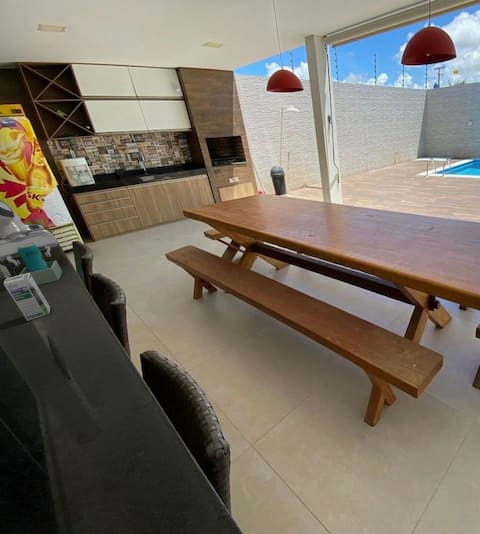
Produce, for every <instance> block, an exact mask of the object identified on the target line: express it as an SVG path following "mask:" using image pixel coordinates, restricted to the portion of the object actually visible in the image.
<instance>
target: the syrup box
mask: <svg viewBox="0 0 480 534" xmlns="http://www.w3.org/2000/svg"><path fill="white" fill-rule="evenodd" d="M3 286H4V288H5V289H6V290H7V292H8V294H9V295H10V297H11V298H12V300H13V301H14V303H15V304H16V305H17V307H18V309H19V310H20V312H21V313H22V315H23V317H24V319H25V320H26V321H28V322H30V321H31V320H35V319H38V318H42V317H45V316H49V315H50V313H51V306H50V305H49V303H48V301H47V299H46V297H45V296H44V295H43V293H42V291H41V289H40V288H39V285H37V284H36V283H35V281H34V279H33V278H32V276H31V274H30V273H27V274H23V275H14V276H11V277H7V278H5V279H4V281H3Z"/></svg>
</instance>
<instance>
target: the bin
mask: <svg viewBox="0 0 480 534" xmlns="http://www.w3.org/2000/svg"><path fill="white" fill-rule="evenodd" d="M46 263H47V265H48V267H49V268H48V269H44V270H39V271H35V272H30V271H29V269H28V267H27V266H25V267H24V268H23V269H22V270H21V272H20V273H19V275H23V274H27V273H30V274H31V276H32V278H33V279H34V281H35V283H36V284H37V286H40V285H43V284H44V285H45V284H49V283H53V282H56V281H59V280H60V279H61V276H62V274H63V270H62V268H61V267H60V264H59V262H58V261H57V260H51V261H46ZM19 275H18V276H19Z"/></svg>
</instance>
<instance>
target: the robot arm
mask: <svg viewBox="0 0 480 534" xmlns="http://www.w3.org/2000/svg"><path fill="white" fill-rule="evenodd" d="M29 243H34V244H35V245H36V246H37V247H38V249H39V251H40V252H41V251H46V252H44V256H45V257H46V258H47V259H48V258H51V257H53V256H52V254H51V249H53V248H57V247H58V246H59V241H58V239H57V238H56V237H55V236H54V234H52V233H51V231H49V230H47V229H45V227H44V226H43V225H42V224H25V223H23V221H22V219H21V217H20V216H19V214H18V213H17V212H16V210H14V209H13V208H12V207H11V206H10V205H9V204H8V203H7V202H6V201H3V200H1V199H0V262H4V261H8V262H10V263H12V264H14V266H16V267H20V266H22V263H21V262H20V260H19V259H17V260H15V258H18V257H21V255H20V254H19V252H18V248H17V247H18V246H21V245H24V244H29Z"/></svg>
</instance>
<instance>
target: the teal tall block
mask: <svg viewBox="0 0 480 534" xmlns="http://www.w3.org/2000/svg"><path fill="white" fill-rule="evenodd" d="M17 248H18V252H19V254H20V255H21V256H20V257H21V259H22V260H23V263H24V265H26V266H25V267H28V269H29V271H30V272H35V271H39V270H44V269H48V268H49V267H48V265H47V261H46V259H45V258H44V256H43V254H42V252H41V251H39V249H38V247H37V246H36V245H35V244H34V243H29V244H24V245H21V246H18V247H17Z"/></svg>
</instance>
